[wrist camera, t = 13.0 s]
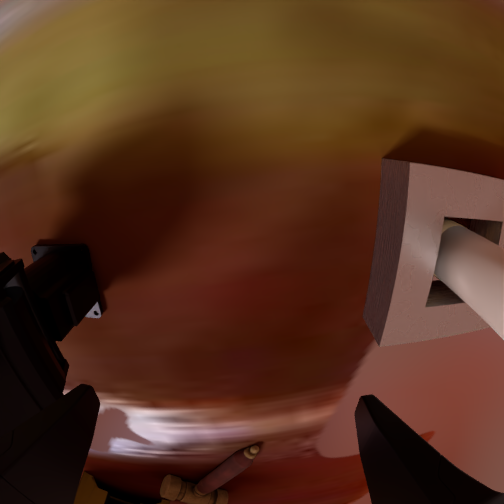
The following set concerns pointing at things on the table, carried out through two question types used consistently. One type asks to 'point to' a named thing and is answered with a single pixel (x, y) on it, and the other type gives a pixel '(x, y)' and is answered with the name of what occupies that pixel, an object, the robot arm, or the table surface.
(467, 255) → the white tall rounded piece
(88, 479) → the olive upright panel stand
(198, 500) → the gavel
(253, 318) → the table surface
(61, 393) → the robot arm
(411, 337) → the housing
